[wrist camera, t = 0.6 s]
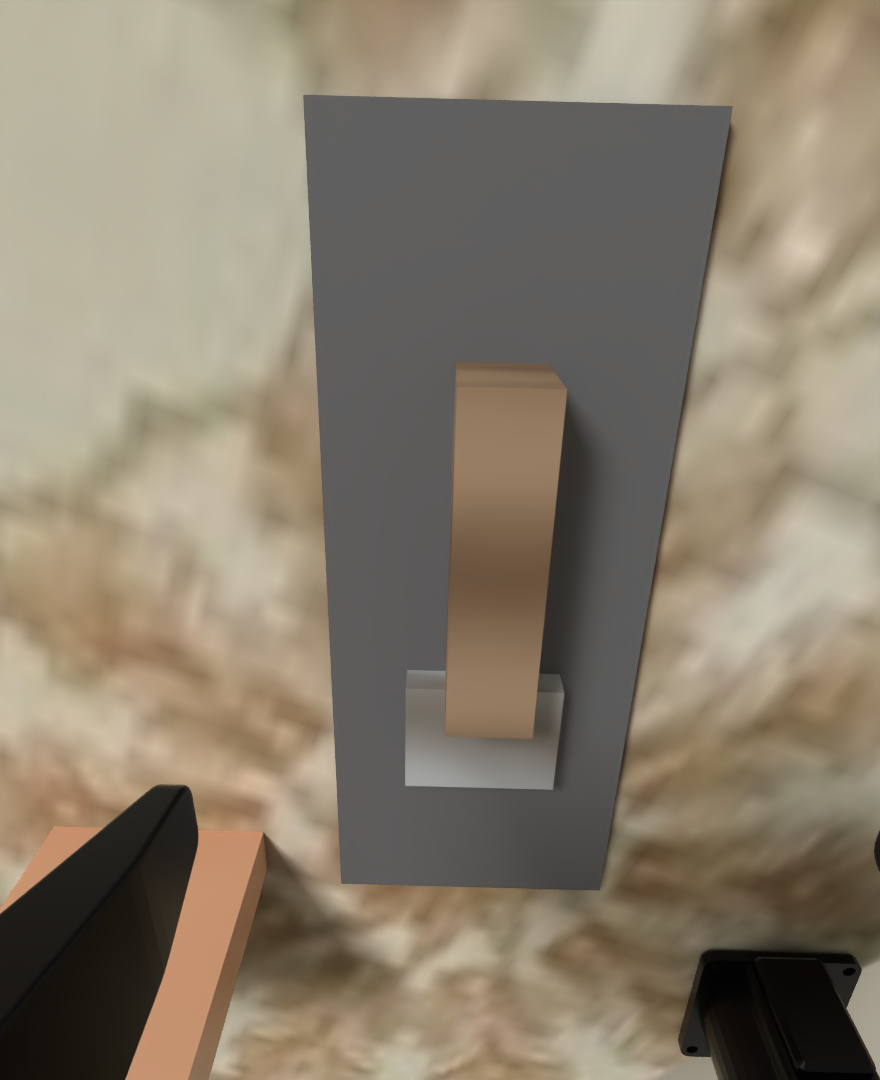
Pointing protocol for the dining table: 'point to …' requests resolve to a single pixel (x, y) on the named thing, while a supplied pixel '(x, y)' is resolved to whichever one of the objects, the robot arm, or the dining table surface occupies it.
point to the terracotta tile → (186, 947)
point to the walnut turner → (495, 590)
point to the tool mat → (428, 420)
